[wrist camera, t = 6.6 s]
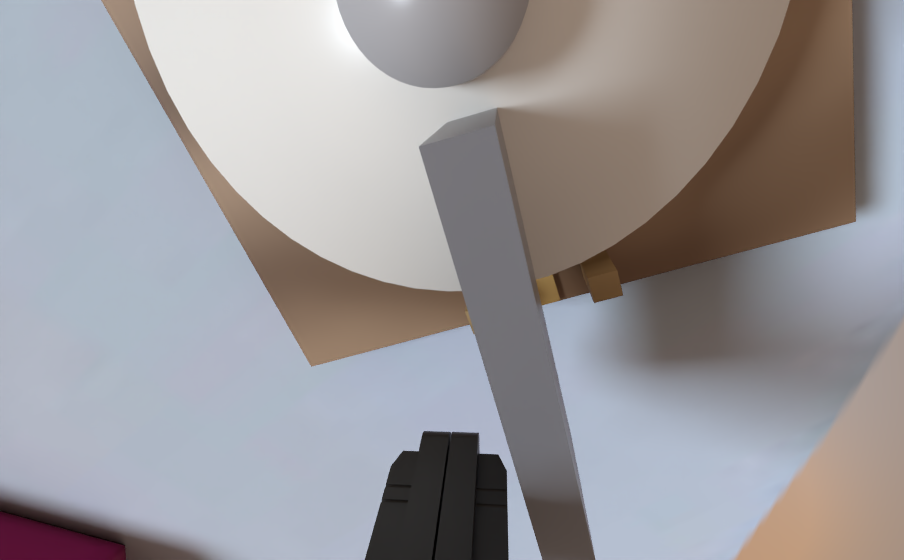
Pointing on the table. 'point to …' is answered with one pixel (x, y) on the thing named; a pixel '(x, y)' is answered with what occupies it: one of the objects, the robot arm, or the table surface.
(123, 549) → the book
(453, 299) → the level stand
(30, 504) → the table surface
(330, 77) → the dial
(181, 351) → the table surface
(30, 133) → the table surface
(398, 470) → the robot arm
